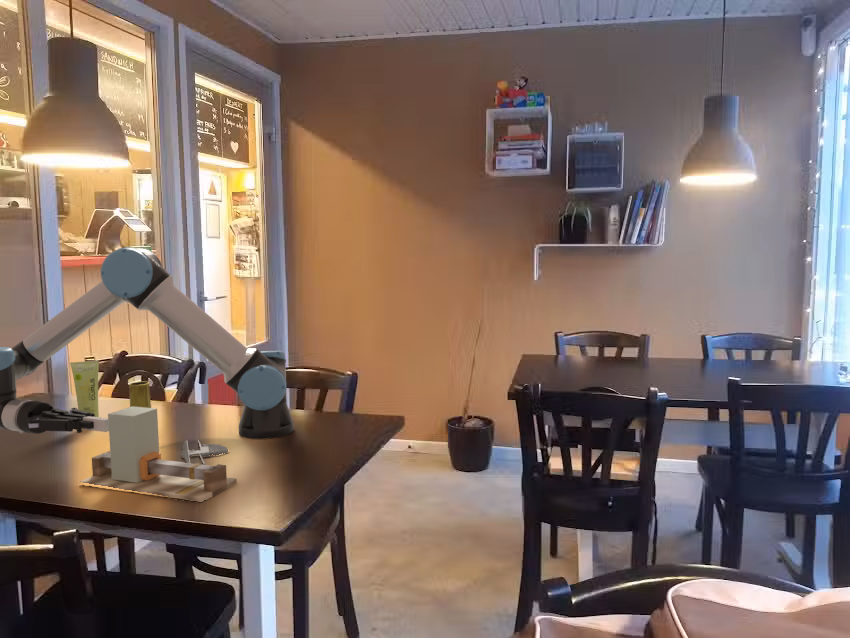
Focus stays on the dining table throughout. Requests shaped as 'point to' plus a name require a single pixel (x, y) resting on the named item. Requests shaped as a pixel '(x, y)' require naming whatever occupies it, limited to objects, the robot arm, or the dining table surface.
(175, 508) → the dining table surface
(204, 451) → the grey flat plane shape
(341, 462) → the dining table surface
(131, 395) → the vase
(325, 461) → the dining table surface
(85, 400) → the tube
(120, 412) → the sleeve
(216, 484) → the rod stand
